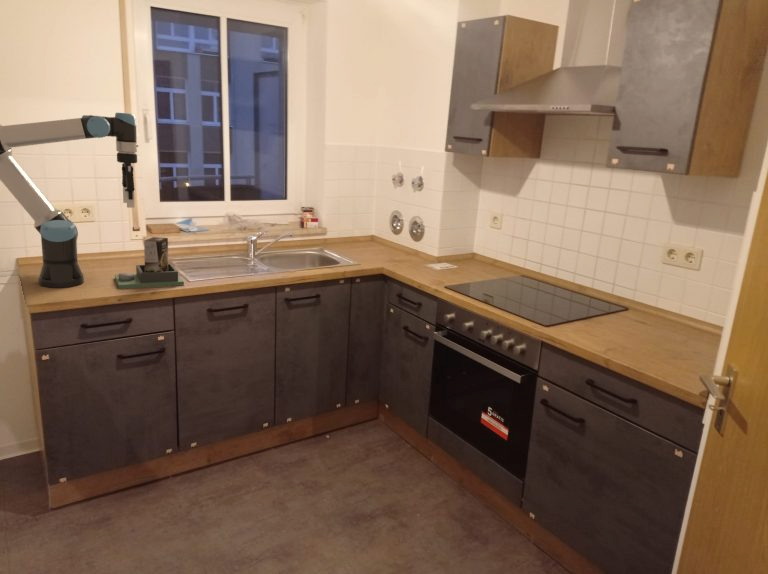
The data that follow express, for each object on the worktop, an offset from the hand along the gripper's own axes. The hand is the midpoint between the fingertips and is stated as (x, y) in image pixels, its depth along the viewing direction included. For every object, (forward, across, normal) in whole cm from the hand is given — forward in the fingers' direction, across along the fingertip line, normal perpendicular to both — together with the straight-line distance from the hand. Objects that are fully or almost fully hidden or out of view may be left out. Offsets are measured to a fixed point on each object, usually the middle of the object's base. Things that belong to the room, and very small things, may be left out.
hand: (128, 205), depth 237 cm
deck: (+29, -17, -5) cm, 34 cm away
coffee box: (+27, -17, -8) cm, 33 cm away
